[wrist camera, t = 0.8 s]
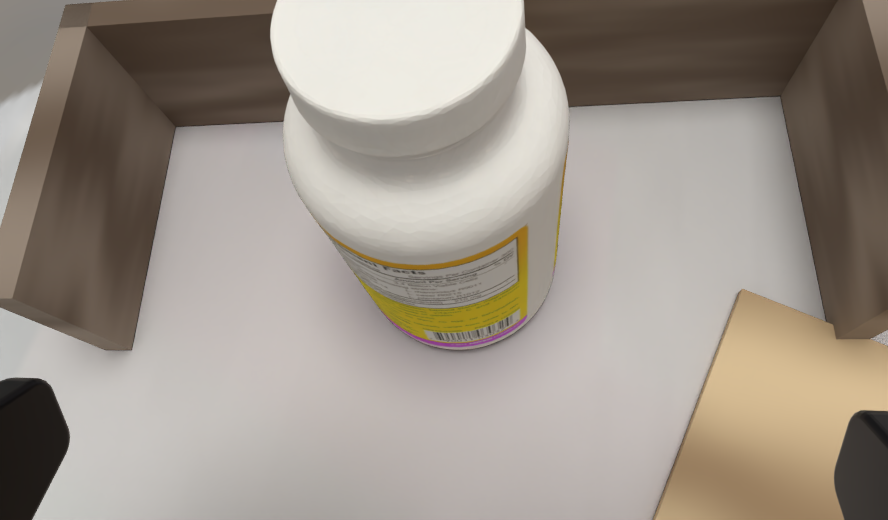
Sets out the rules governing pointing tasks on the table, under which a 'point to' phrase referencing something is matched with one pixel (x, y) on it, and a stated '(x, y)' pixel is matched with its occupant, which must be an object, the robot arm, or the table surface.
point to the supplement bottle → (429, 155)
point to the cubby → (546, 16)
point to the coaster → (773, 418)
